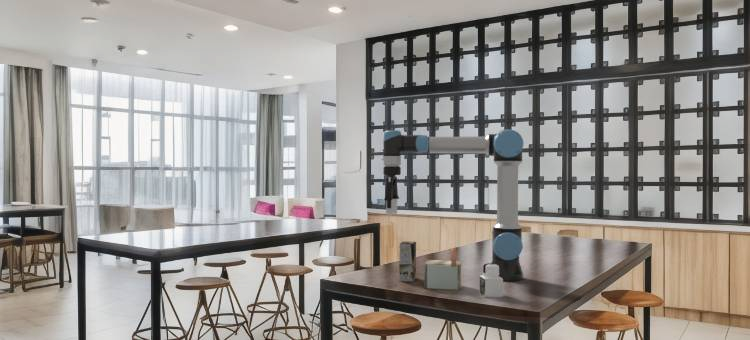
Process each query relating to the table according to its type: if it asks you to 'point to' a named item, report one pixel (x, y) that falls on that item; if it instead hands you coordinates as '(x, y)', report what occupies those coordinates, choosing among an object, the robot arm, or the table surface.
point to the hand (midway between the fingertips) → (391, 214)
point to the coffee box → (407, 261)
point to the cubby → (458, 263)
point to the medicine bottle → (491, 281)
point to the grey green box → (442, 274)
